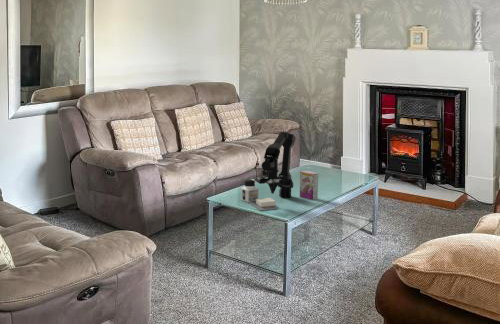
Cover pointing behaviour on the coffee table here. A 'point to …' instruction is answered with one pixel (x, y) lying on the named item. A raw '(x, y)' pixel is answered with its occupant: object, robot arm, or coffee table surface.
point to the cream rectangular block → (265, 202)
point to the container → (249, 191)
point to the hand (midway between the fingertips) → (272, 193)
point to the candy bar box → (309, 185)
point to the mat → (262, 207)
